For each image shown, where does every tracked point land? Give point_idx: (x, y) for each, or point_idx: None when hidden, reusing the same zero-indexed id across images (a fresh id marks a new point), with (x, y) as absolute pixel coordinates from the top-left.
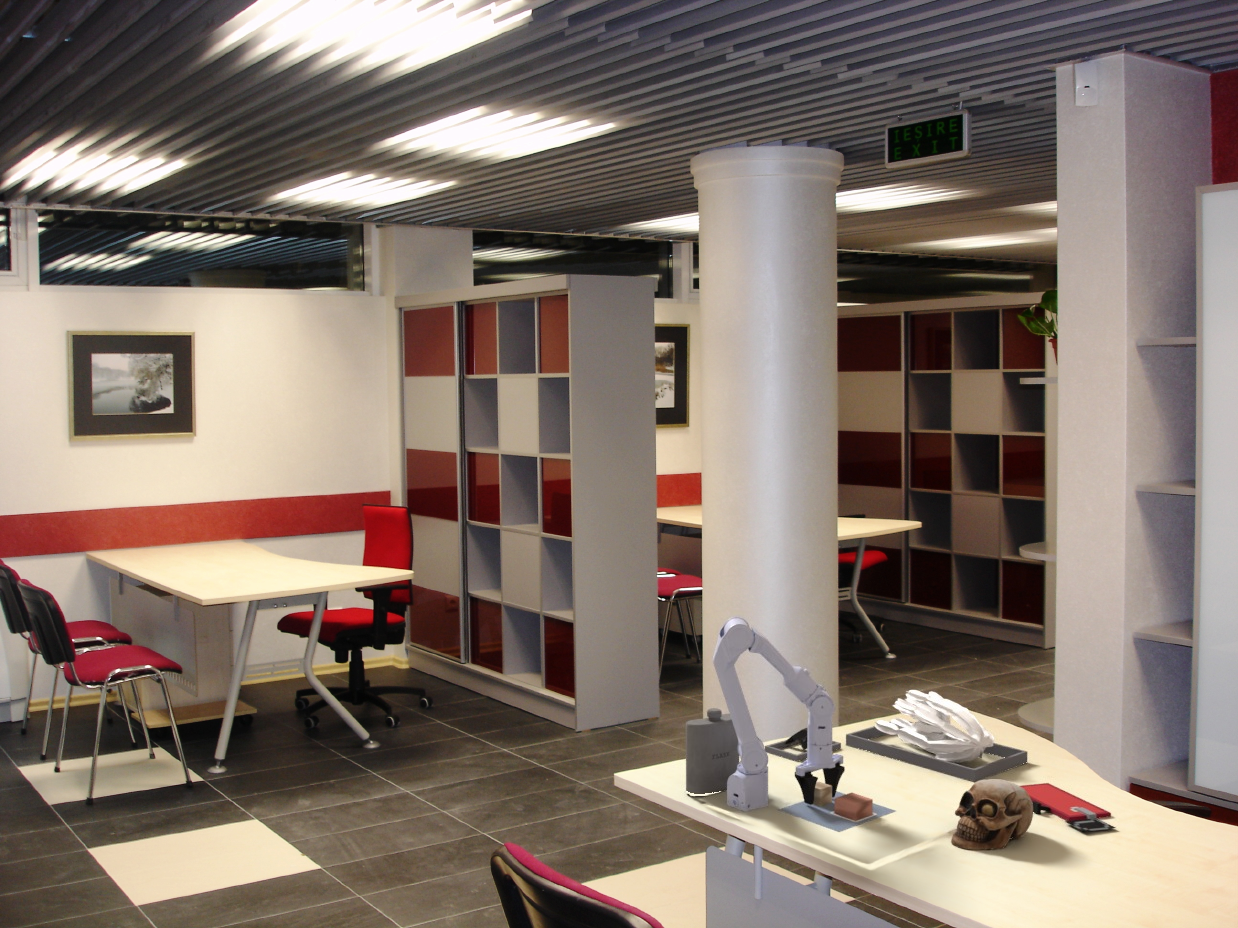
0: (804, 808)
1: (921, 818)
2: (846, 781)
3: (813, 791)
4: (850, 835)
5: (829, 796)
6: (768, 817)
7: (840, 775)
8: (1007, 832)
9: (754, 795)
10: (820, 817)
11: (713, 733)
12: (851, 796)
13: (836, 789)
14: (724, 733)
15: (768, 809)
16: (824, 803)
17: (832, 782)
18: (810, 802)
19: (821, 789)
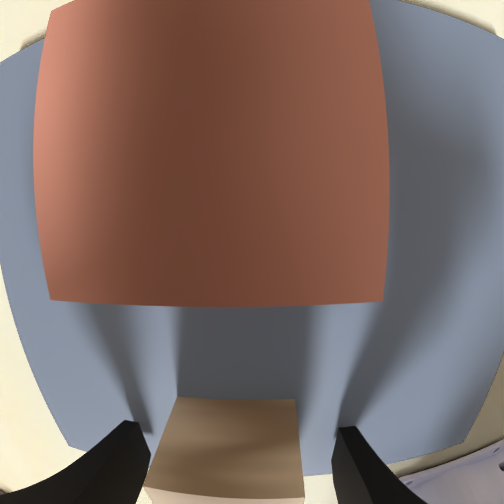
0: (389, 417)
1: (4, 5)
2: (6, 438)
3: (378, 488)
4: (450, 7)
5: (193, 430)
6: (498, 411)
7: (29, 498)
8: None
9: (497, 495)
10: (461, 259)
11: None
12: (135, 201)
13: (98, 443)
14: None
15: (428, 468)
16: (253, 406)
17: (104, 495)
18: (362, 436)
19: (293, 494)
